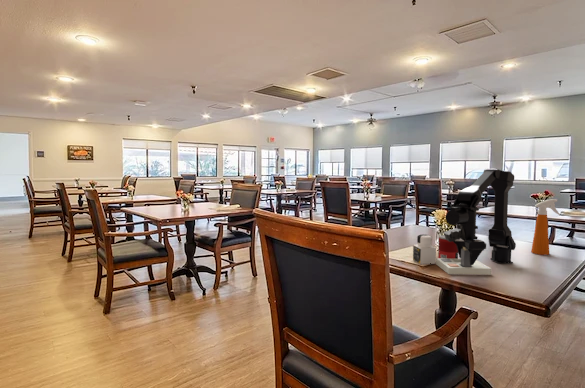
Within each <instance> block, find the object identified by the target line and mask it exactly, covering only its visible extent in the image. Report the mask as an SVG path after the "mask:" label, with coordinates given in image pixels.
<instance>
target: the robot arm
mask: <svg viewBox="0 0 585 388" xmlns="http://www.w3.org/2000/svg"><path fill="white" fill-rule="evenodd" d="M514 181H515V175H514V173H513V172H512V171H509V170H502V169H498V168H485V169H484V170H483V173H482V174H481V175H480V176H479V177H478V178H477V179H476V180H475V181H474V182H473V183H472V184H471V185H470V186H468V187H467V186H466V187H465V188H463V189H461V190H460V191H459V192H458V193H457V195H456V197H455V200H454V202H453V204H452V206H451V207H450V210H447V212H446V214H445V221H446V222H447V223H448V225H450V226H455V225H456V228H453V229H449V230H447V231H443V235H445V238H446V240H448V241H449V242H452V241H453V242H454V243H455V244H456V246H457V250H458V258H459V259H461V249H463V247H465V248H466V249H467V250H468V252H469V261H470V265H473V264H474V263H475V261H476V260H477V261H478V258H479V256H480V255H481V253H482V252H483V251H485V250H487V243H486V242H485V241H483V240H482V239H478V237H479V236H477V235H476V231H477V230H478V228H479V226H478V225H476V224H477V212H478V211H480V209H479V207H477V206H478V205H479V204H480V202H481V201H482V199H483V198H482V195H483V193H484V192H485V191H486V190H487V189H488V188H489V186H491V188H492V189H493V191H494V204H493V205H494V209H493V210H494V211H493V212H494V213H493V215H494V216H493V226H491V228H489V229H488V236H487V238H488V245H489V247H492V250H491V258H490V260H491V261H493V262H495V263H497V264H513V263H514V261H512V251H515V249H516V247H517V244H516V241H515V240H514V238H513V237H512V231H511V229H510V227H509V226H508V213H509V212H508V210H509V209H508V205H509V191H510V190H511V188H512V187H513V186H514Z"/></svg>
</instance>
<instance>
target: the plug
mask: <svg viewBox="0 0 585 388" xmlns="http://www.w3.org/2000/svg"><path fill="white" fill-rule="evenodd" d="M460 259H461V266H462V267H472V265H470V261H469V252H468V250H467V249H466V248H465V247H463V249H461V258H460Z"/></svg>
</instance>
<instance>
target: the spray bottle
mask: <svg viewBox="0 0 585 388" xmlns="http://www.w3.org/2000/svg"><path fill="white" fill-rule="evenodd" d="M556 203H558V198H551V199H547V200H543V201H540V202H538V203H536V204H535V205H534V207H535V208H538V210H537V216H536V221H535V229H534V233H533V239H532V245H531V253H532V254H535V255H541V256H548V255H550V242H549V240H550V239H549V226H548V225H549V224H548V223H549V222H548V210H547V209H551V210H552V211H553V212H554V213H555V214H557V215H558V216H561V214H560V212H559V211H558V209H557V208H556Z"/></svg>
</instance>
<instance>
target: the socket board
mask: <svg viewBox="0 0 585 388" xmlns="http://www.w3.org/2000/svg"><path fill="white" fill-rule="evenodd" d="M435 265H436V266H438V267H439V268H440V269H441V270H443V271H444V272H445V273H446V274H447V275H464V276H465V275H471V276H472V275H473V276H474V275H476V276H477V275H480V276H492V267H489V266H488V265H485V264H484V263H483V262H481V261H479V260H478V259H477V260H476V261H475V263H474V264H473V265H472V267H462V266H461V258H458V259H453V258H437V257H436V264H435Z"/></svg>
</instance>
